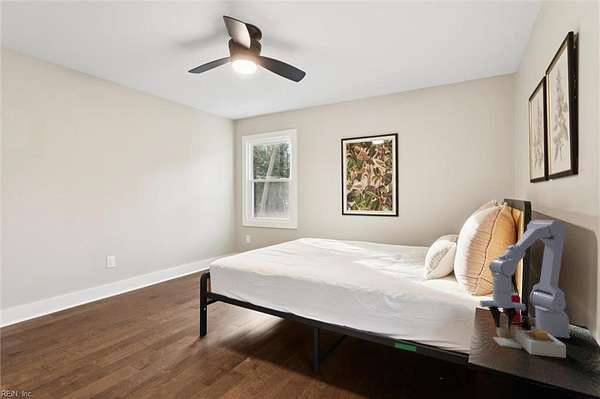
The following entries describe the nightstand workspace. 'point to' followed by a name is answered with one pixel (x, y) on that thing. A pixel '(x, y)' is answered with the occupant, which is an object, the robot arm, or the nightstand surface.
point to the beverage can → (517, 318)
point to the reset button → (539, 333)
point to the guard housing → (540, 344)
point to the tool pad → (507, 342)
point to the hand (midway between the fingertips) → (502, 327)
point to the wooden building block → (503, 326)
